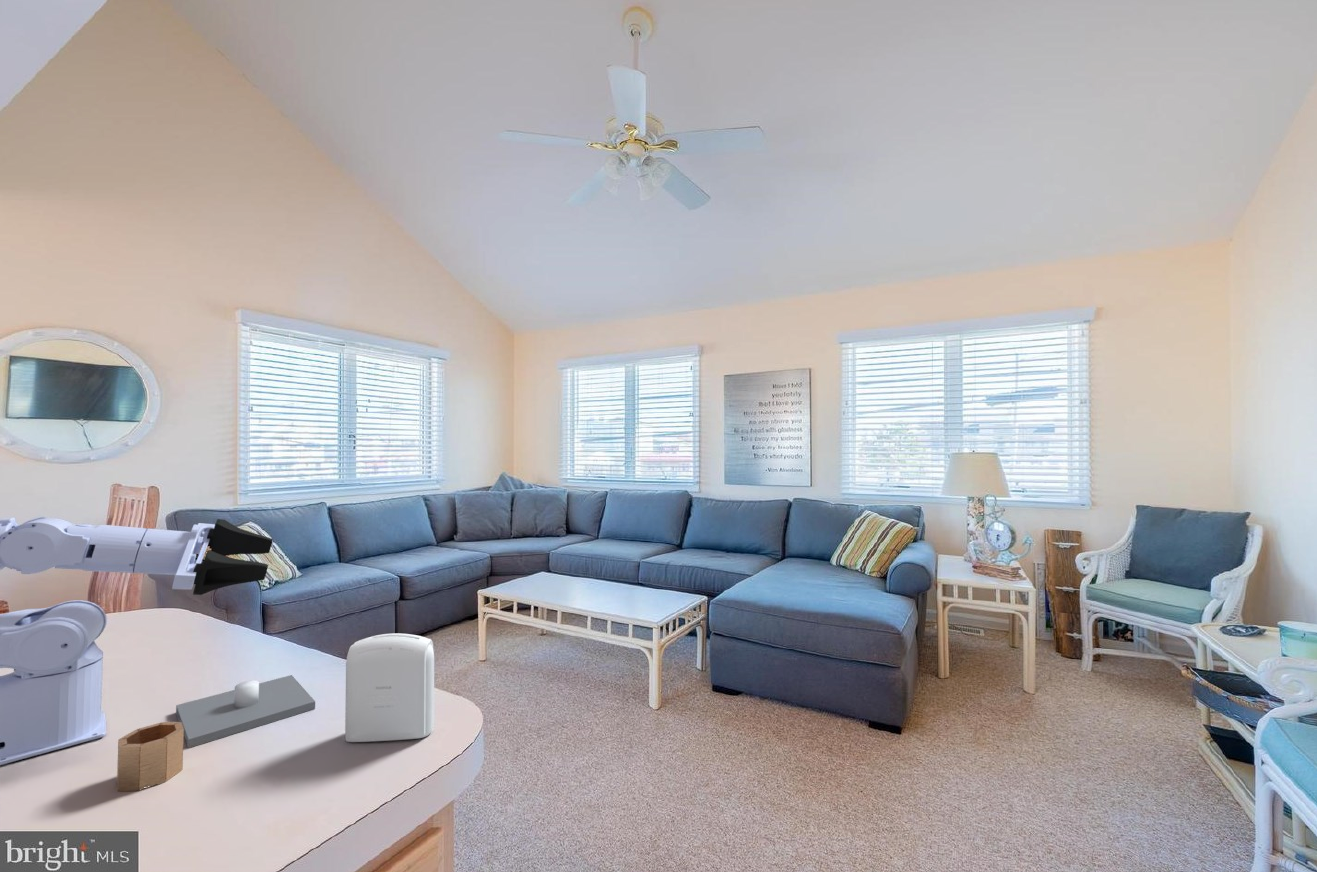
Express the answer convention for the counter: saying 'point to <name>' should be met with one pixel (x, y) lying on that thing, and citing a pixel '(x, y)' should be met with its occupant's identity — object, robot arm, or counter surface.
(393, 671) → the photo printer
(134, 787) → the octagonal cardboard bin
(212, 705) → the plate
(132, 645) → the counter surface
